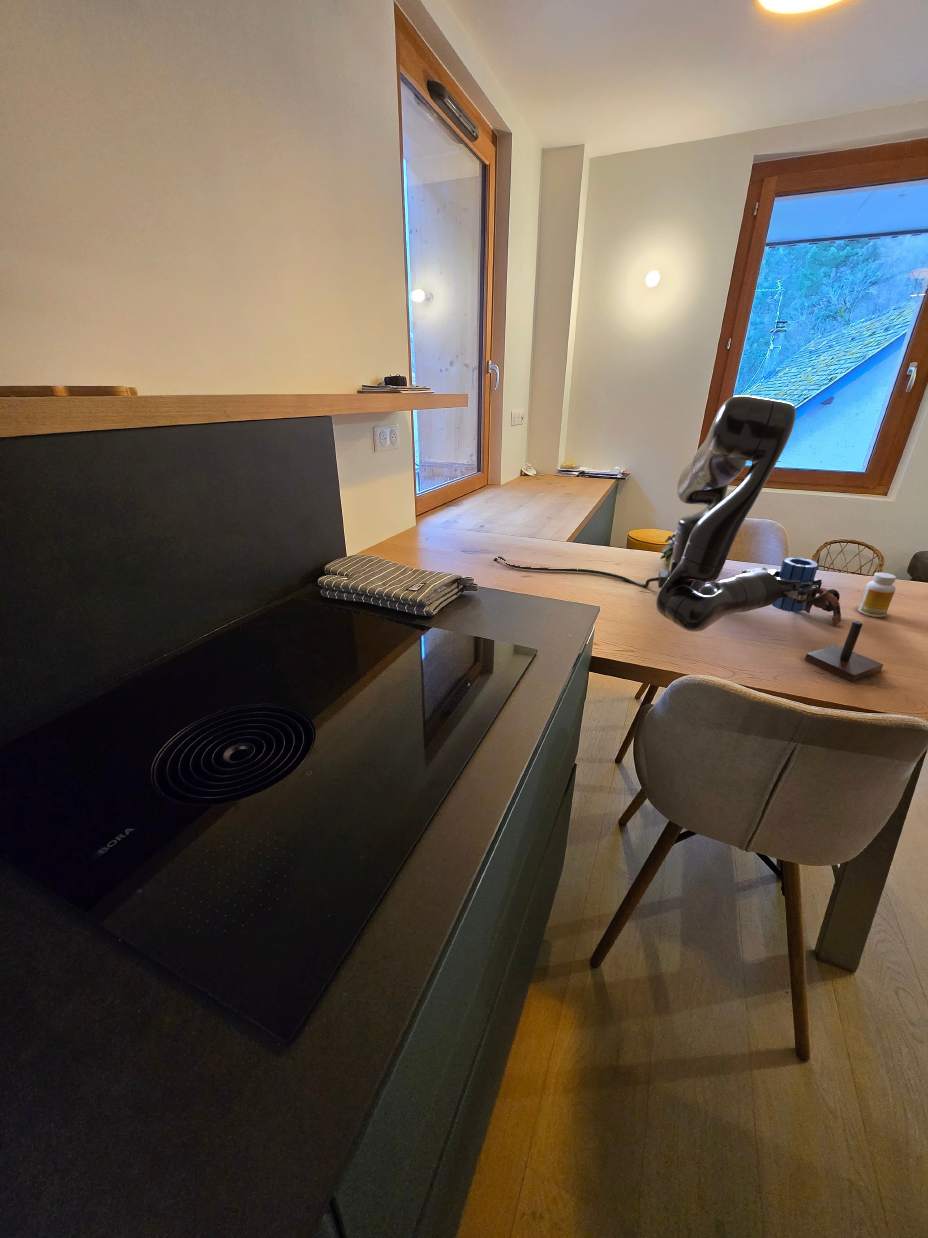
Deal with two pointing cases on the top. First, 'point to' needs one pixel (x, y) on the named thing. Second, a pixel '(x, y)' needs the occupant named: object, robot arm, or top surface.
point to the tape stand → (845, 658)
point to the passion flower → (668, 550)
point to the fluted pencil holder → (795, 570)
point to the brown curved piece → (826, 603)
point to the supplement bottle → (878, 595)
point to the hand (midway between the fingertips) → (802, 578)
